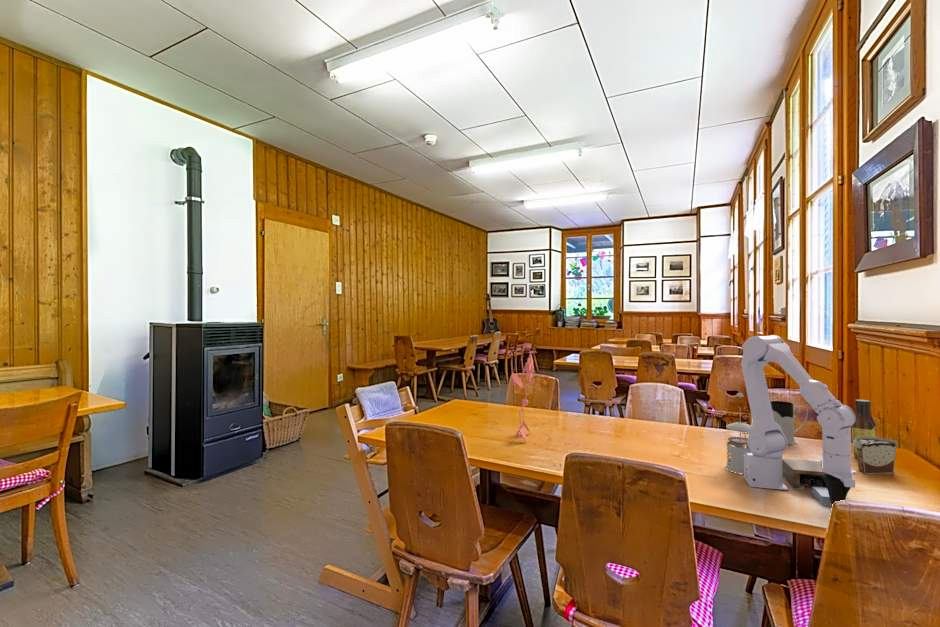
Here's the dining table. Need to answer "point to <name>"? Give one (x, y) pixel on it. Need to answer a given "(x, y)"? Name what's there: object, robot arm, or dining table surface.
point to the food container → (875, 454)
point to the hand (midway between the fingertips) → (837, 504)
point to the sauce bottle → (863, 422)
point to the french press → (737, 446)
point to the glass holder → (786, 418)
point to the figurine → (517, 380)
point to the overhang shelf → (802, 472)
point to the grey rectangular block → (822, 495)
